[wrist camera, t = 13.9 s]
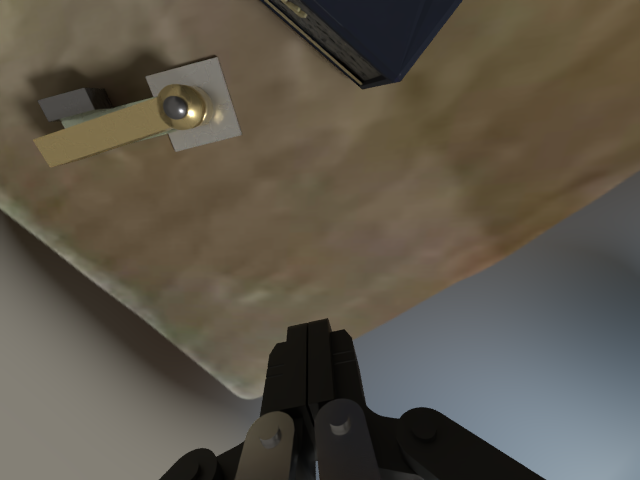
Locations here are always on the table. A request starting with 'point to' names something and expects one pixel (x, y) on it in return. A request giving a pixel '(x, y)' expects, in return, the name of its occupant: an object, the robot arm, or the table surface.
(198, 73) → the base
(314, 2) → the speaker
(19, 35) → the table surface
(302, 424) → the robot arm
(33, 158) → the table surface
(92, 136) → the latch bar
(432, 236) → the table surface
